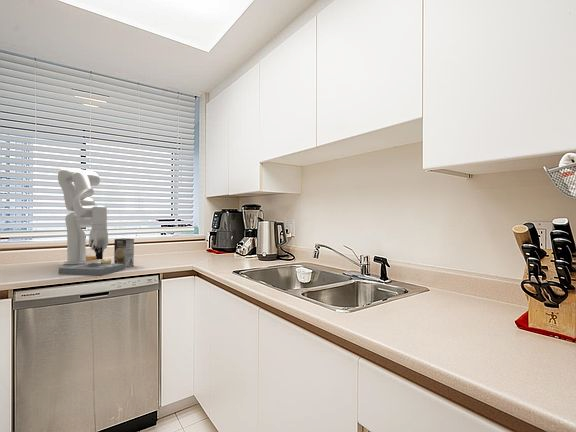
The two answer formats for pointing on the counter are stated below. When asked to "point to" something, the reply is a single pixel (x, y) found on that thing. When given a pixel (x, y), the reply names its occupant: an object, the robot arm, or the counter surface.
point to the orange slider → (90, 258)
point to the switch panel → (91, 269)
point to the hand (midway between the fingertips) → (99, 259)
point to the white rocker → (92, 261)
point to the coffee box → (124, 251)
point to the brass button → (106, 261)
